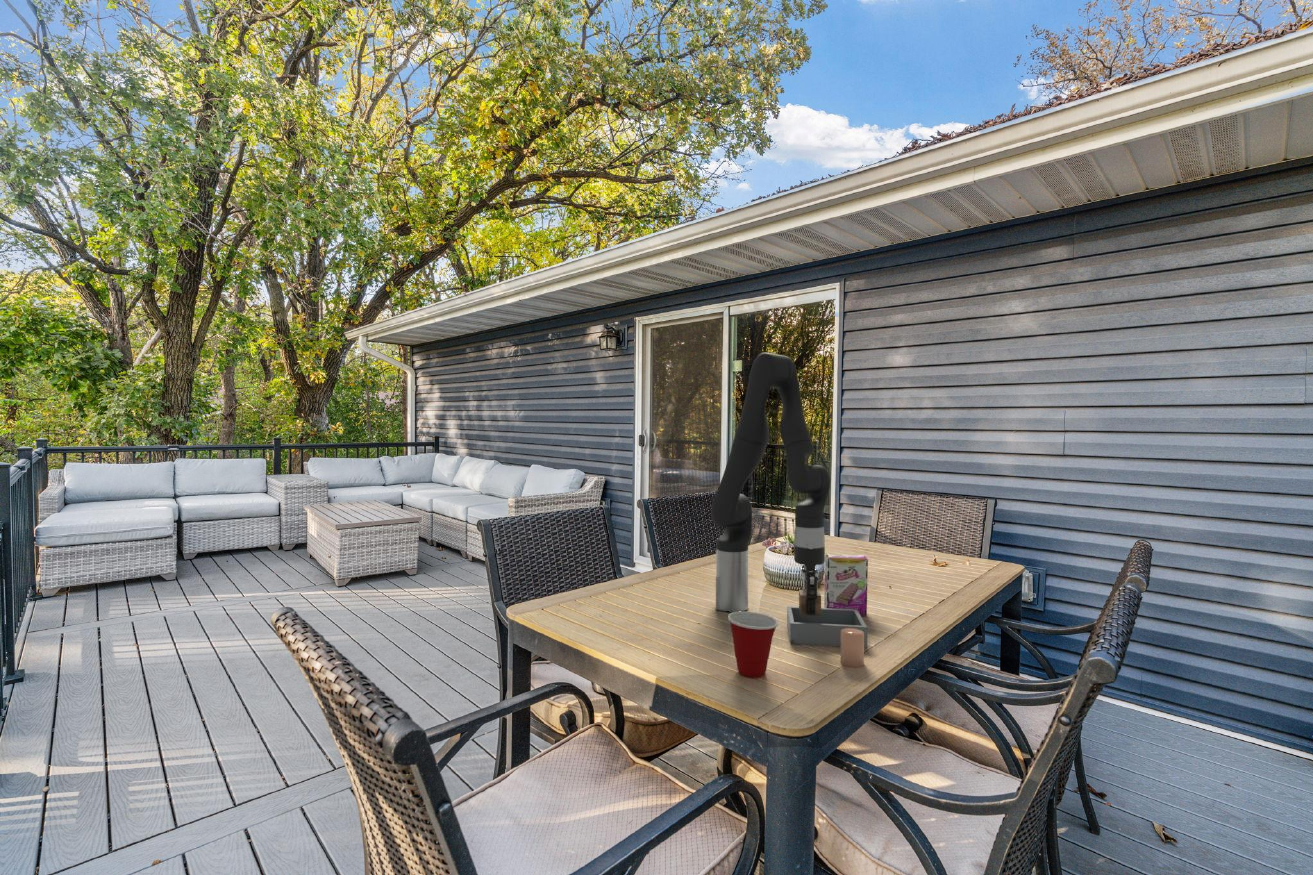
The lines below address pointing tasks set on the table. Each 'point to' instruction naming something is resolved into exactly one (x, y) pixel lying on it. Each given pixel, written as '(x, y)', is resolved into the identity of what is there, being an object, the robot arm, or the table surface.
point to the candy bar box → (846, 582)
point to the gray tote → (823, 626)
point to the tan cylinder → (852, 647)
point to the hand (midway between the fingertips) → (809, 610)
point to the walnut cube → (803, 603)
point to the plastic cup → (752, 641)
